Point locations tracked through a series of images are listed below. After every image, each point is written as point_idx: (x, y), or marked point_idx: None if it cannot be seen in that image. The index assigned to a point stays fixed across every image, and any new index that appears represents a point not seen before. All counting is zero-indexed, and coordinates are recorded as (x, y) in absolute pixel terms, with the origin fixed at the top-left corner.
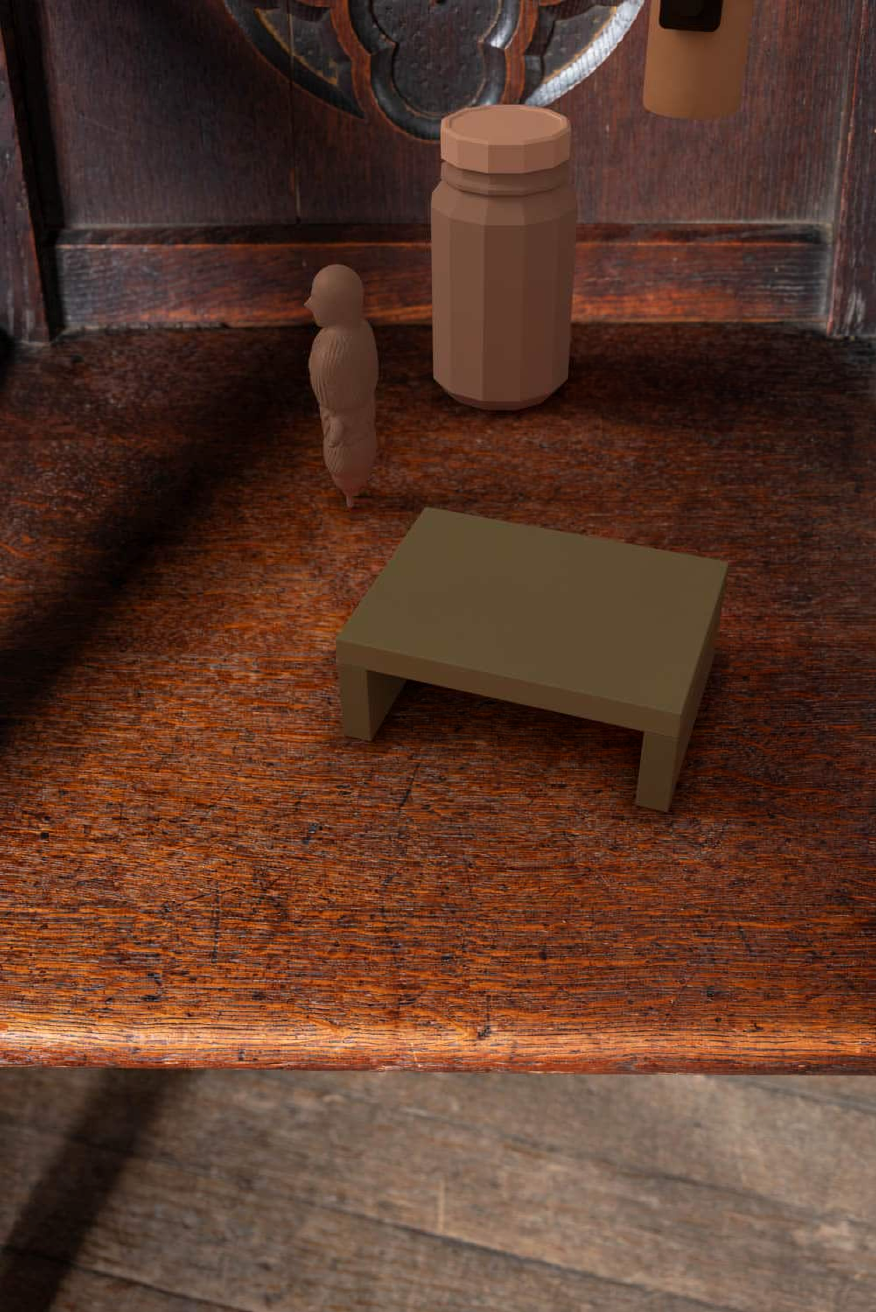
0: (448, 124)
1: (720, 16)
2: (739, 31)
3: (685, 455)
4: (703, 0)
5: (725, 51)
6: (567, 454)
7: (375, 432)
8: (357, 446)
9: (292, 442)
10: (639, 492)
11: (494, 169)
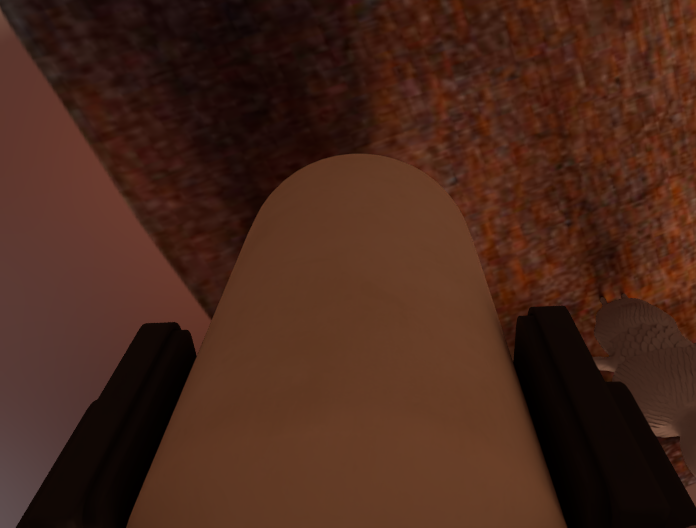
0: None
1: (562, 323)
2: (423, 251)
3: (417, 23)
4: (631, 403)
5: (458, 250)
6: (462, 151)
7: (628, 321)
8: (670, 324)
9: None
10: (520, 49)
11: None
